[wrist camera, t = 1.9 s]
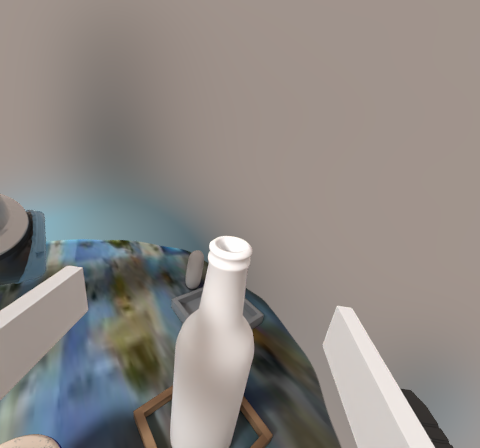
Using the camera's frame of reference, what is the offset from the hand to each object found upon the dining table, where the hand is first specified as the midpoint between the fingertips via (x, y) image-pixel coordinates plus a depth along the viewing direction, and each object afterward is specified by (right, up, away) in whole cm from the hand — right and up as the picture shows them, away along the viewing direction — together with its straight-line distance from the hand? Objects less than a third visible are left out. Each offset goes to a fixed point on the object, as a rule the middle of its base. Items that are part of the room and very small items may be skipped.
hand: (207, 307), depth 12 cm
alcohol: (-4, -25, +20) cm, 32 cm away
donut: (-11, -12, +48) cm, 51 cm away
